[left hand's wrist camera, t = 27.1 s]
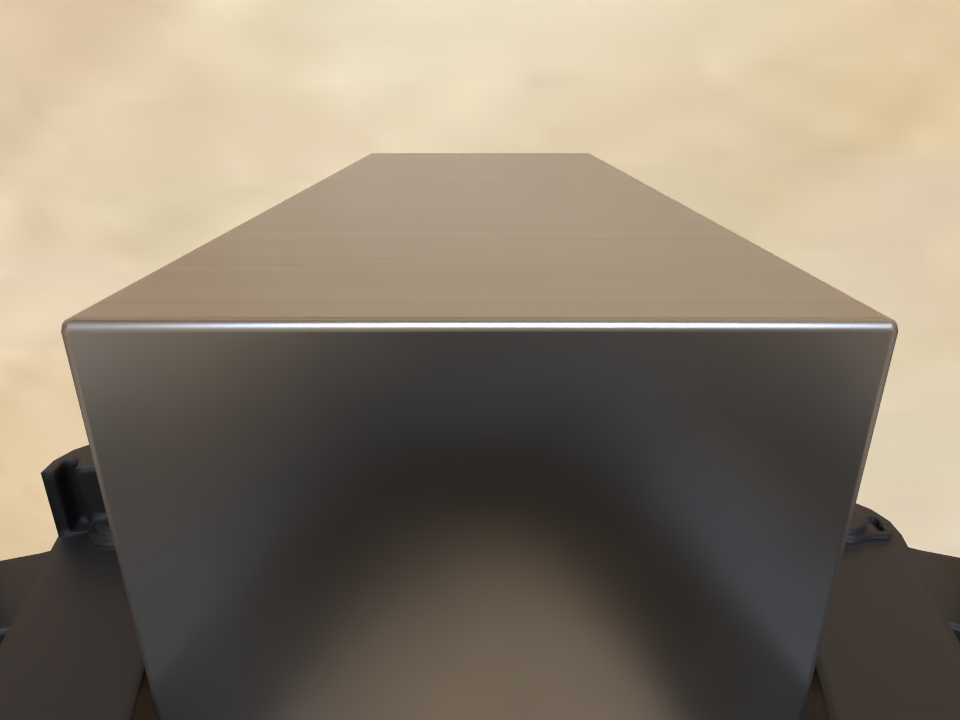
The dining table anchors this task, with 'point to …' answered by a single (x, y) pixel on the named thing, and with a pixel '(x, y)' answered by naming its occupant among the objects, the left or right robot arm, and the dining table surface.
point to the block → (479, 452)
